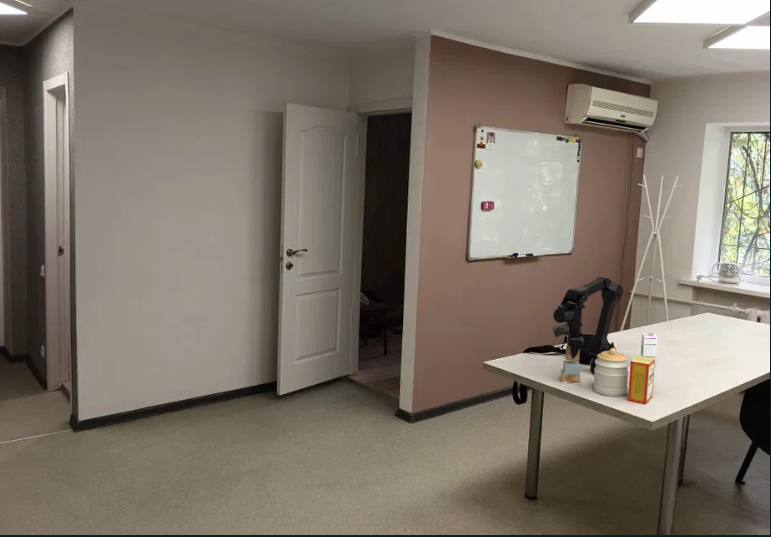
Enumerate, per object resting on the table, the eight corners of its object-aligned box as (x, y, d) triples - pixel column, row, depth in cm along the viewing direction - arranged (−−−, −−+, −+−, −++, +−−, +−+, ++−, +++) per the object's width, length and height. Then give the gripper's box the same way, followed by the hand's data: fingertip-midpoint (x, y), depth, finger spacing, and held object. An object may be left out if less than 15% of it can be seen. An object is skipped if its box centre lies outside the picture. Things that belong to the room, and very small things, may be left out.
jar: (600, 383, 261) (602, 342, 259) (632, 390, 253) (635, 347, 251) (587, 391, 252) (590, 348, 249) (620, 399, 243) (623, 354, 241)
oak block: (577, 379, 268) (578, 370, 267) (579, 384, 261) (580, 375, 260) (560, 378, 269) (561, 368, 268) (562, 383, 262) (562, 374, 261)
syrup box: (655, 368, 283) (658, 336, 281) (641, 367, 284) (644, 335, 282) (653, 364, 288) (655, 333, 286) (639, 363, 290) (641, 332, 287)
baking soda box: (645, 404, 238) (648, 363, 236) (627, 400, 242) (630, 360, 239) (652, 397, 246) (655, 357, 243) (634, 394, 249) (637, 354, 247)
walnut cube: (565, 356, 266) (566, 345, 265) (577, 357, 265) (578, 345, 264) (566, 360, 261) (567, 348, 261) (579, 360, 260) (579, 349, 260)
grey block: (577, 370, 266) (578, 361, 266) (579, 374, 261) (580, 365, 260) (563, 369, 267) (563, 360, 267) (564, 374, 262) (565, 364, 261)
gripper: (552, 313, 271) (551, 349, 274) (556, 323, 253) (554, 361, 256) (579, 315, 269) (577, 350, 272) (585, 325, 251) (582, 363, 253)
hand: (572, 356), depth 263 cm, fingers closed on walnut cube, 5 cm apart
